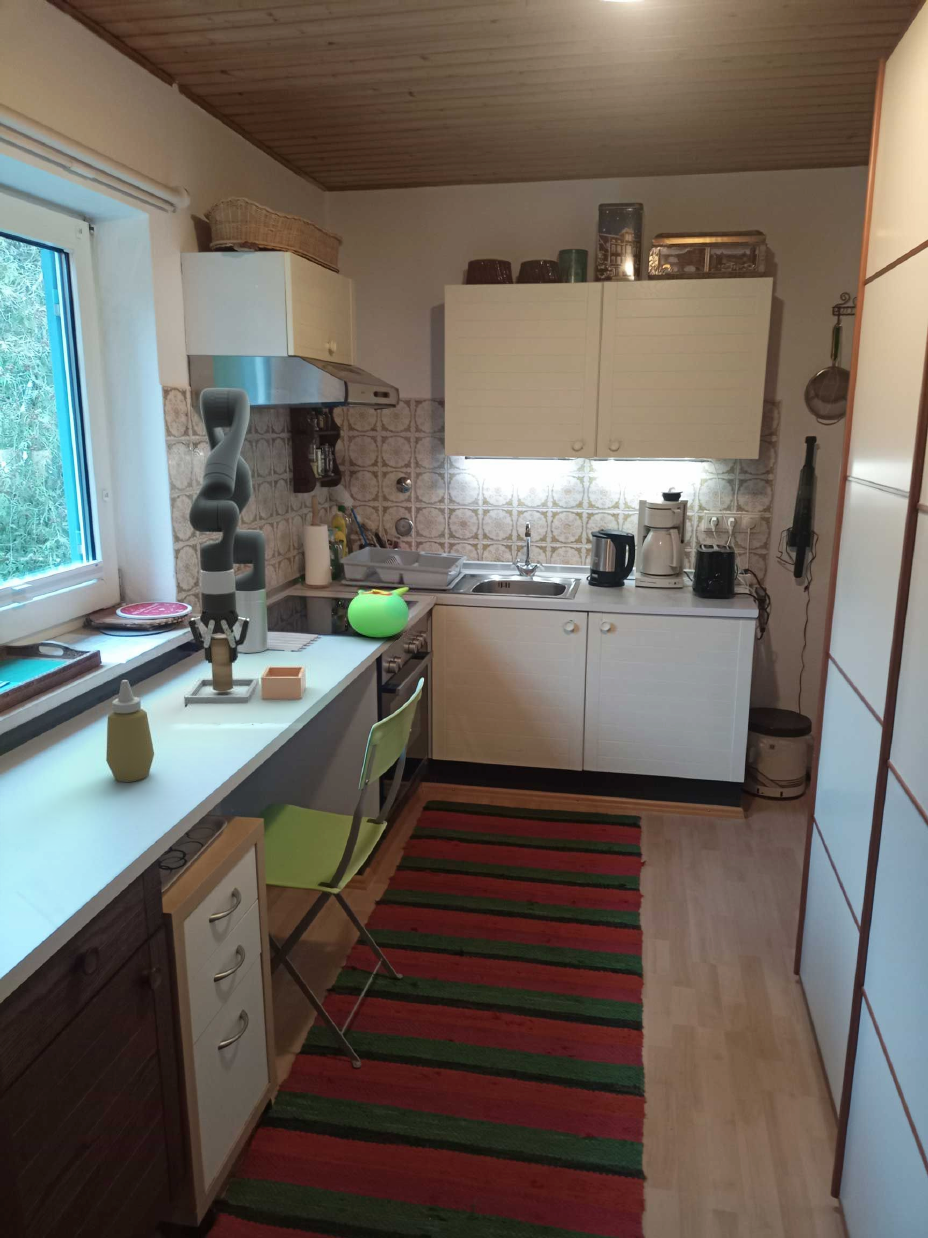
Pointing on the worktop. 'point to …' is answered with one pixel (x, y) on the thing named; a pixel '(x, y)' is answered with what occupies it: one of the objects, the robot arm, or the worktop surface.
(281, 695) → the terracotta box
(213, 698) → the slate tray
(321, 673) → the worktop surface
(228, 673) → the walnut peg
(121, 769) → the squeeze bottle
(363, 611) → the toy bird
